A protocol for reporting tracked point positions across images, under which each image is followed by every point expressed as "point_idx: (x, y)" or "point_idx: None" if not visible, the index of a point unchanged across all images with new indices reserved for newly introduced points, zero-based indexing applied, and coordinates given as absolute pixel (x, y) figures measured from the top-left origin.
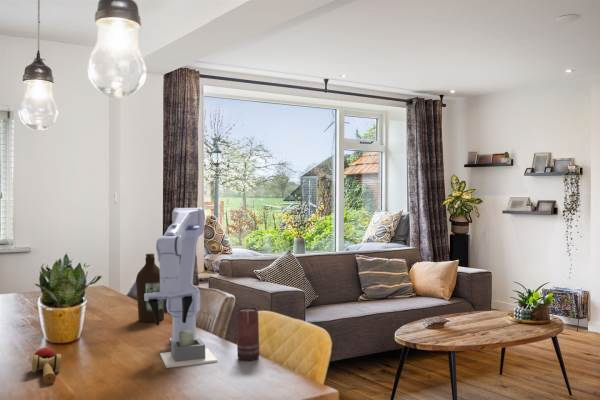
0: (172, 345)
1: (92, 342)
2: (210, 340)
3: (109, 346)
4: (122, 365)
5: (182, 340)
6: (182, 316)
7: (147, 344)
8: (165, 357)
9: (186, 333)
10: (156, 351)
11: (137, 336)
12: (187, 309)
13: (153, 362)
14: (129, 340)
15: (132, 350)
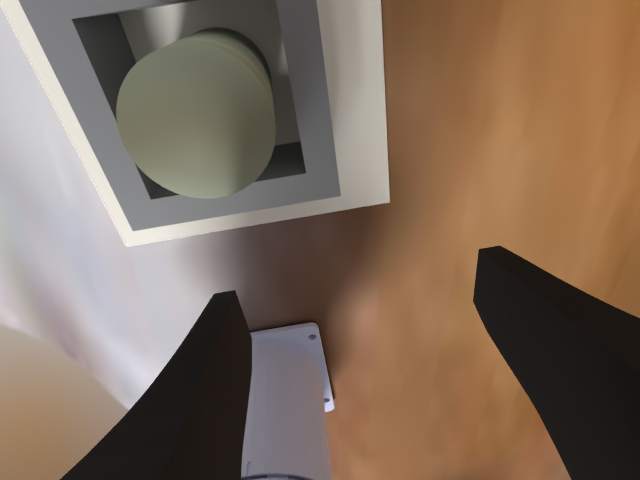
0: (328, 107)
1: None
2: None
3: None
4: (626, 25)
5: (238, 52)
6: (245, 378)
7: (423, 366)
8: (365, 96)
9: (180, 52)
10: (398, 266)
11: (443, 448)
12: (140, 412)
13: (440, 44)
14: (479, 415)
15: None
